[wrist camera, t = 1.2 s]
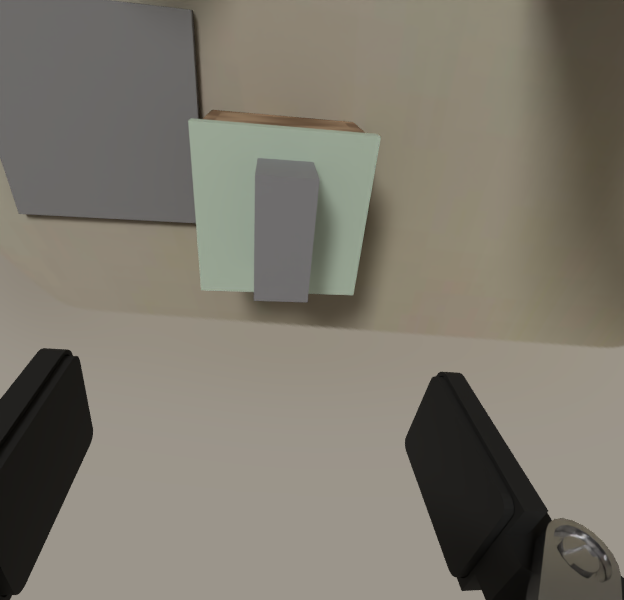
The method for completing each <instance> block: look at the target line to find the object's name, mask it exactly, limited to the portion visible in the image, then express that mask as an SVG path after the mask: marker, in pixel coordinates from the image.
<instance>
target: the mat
mask: <svg viewBox="0 0 624 600" xmlns="http://www.w3.org/2000/svg"><path fill="white" fill-rule="evenodd" d="M191 118H194V119H199V104H198V88H197V72H196V55H195V39H194V23H193V11H192V10H188V9H179V8H171V7H162V6H154V5H145V4H137V3H128V2H120V1H111V0H0V158H1V161H2V164H3V167H4V170H5V173H6V176H7V179H8V182H9V185H10V188H11V191H12V194H13V197H14V200H15V203H16V206H17V209H18V212H19V214H33V215H52V216H70V217H89V218H108V219H127V220H146V221H165V222H184V223H196V216H195V203H194V190H193V177H192V164H191V151H190V138H189V125H188V120H190V119H191Z"/></svg>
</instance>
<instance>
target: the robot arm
mask: <svg viewBox="0 0 624 600" xmlns="http://www.w3.org/2000/svg"><path fill="white" fill-rule="evenodd" d="M92 436H93V427H92V422H91V416H90V411H89V406H88V401H87V395H86V390H85V385H84V380H83V374H82V369H81V364H80V360H79V358H78V356H73V355H72V352H71V351H70V350H64V349H63V350H62V349H46V348H43V349H40V350H39V351H38V352H37V354H36V355H35V356H34V357H33V359H32V360H31V361H30V363H29V364H28V365H27V366H26V367H25V369H24V370H23V371H22V373H21V374H20V375H19V376H18V378H17V379H16V380H15V382H14V383H13V384H12V385H11V386H10V388H9V389H8V390H7V392H6V393H5V394H4V395H3V397H2V398H1V399H0V600H10V598H11V596H12V595H17V594H19V593H20V592H21V591H22V589H23V588H24V586H25V584H26V582H27V580H28V578H29V576H30V573H31V571H32V569H33V567H34V565H35V563H36V561H37V558H38V556H39V554H40V552H41V550H42V548H43V545H44V543H45V541H46V539H47V537H48V535H49V532H50V530H51V528H52V526H53V524H54V522H55V519H56V517H57V515H58V513H59V511H60V509H61V506H62V504H63V502H64V500H65V498H66V496H67V493H68V491H69V489H70V487H71V484H72V483H73V480H74V478H75V476H76V474H77V472H78V470H79V467H80V465H81V463H82V461H83V458H84V457H85V455H86V452H87V450H88V448H89V446H90V443H91V440H92ZM405 448H406V452H407V454H408V457H409V460H410V463H411V466H412V468H413V471H414V474H415V477H416V480H417V482H418V485H419V488H420V490H421V494H422V496H423V499H424V502H425V505H426V507H427V510H428V513H429V516H430V518H431V521H432V524H433V527H434V530H435V533H436V535H437V538H438V541H439V543H440V546H441V549H442V552H443V555H444V558H445V560H446V563H447V566H448V568H449V571H450V572H451V574H452V575H453V576H454V577H457V579H458V582H459V585H460V587H461V590H462V591H466V590H467V591H468V590H482V592H483V594H484V597H485V599H486V600H624V578H623V577H622V576H621V574H620V571H619V566H618V564H617V562H616V560H615V558H614V556H613V554H612V553H611V551H610V550H609V549H608V547H607V546H606V545H605V544H604V542H602V540H601V539H599V538H598V537H597V536H596V535H595V534H594V533H593V532H592V531H590V530H589V529H587V528H586V527H584V526H583V525H581V524H579V523H577V522H575V521H572V520H568V519H564V518H560V519H554V520H553V521H552V520H551V518H550V517H549V515H548V513H547V512H548V510H547V508H546V507H545V505H544V503H543V502H542V500H541V499H540V497H539V495H538V494H537V492H536V491H535V489H534V487H533V486H532V484H531V483H530V481H529V479H528V478H527V476H526V475H525V473H524V471H523V470H522V468H521V467H520V465H519V464H518V462H517V461H516V459H515V457H514V455H513V454H512V453H511V451H510V449H509V448H508V446H507V445H506V443H505V441H504V440H503V438H502V436H501V435H500V433H499V432H498V430H497V429H496V427H495V425H494V424H493V422H492V420H491V419H490V417H489V416H488V414H487V412H486V411H485V409H484V408H483V406H482V405H481V403H480V401H479V400H478V398H477V397H476V395H475V393H474V392H473V390H472V389H471V387H470V386H469V384H468V382H467V381H466V379H465V377H464V376H463V375H462V374H460V373H453V372H440V373H438V375H437V376H436V377H433V378H432V379H431V381H430V383H429V385H428V388H427V390H426V392H425V395H424V397H423V399H422V401H421V404H420V406H419V408H418V411H417V413H416V416H415V418H414V420H413V422H412V424H411V427H410V429H409V431H408V434H407V436H406V439H405Z"/></svg>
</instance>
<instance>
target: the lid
mask: <svg viewBox="0 0 624 600" xmlns="http://www.w3.org/2000/svg"><path fill="white" fill-rule="evenodd" d="M188 125H189V138H190V151H191V164H192V177H193V190H194V203H195V216H196V230H197V243H198V256H199V269H200V282H201V290H209V291H240V292H254V301H281V302H308V294H331V295H353V294H354V288H355V283H356V277H357V271H358V265H359V260H360V254H361V248H362V242H363V237H364V231H365V225H366V219H367V214H368V208H369V202H370V196H371V191H372V185H373V179H374V173H375V168H376V162H377V156H378V150H379V145H380V139H381V137H380V136H379V135H378V134H372V133H360V132H348V131H336V130H324V129H312V128H300V127H289V126H277V125H265V124H253V123H241V122H229V121H218V120H206V119H194V118H191V119H190V120H188Z"/></svg>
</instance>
